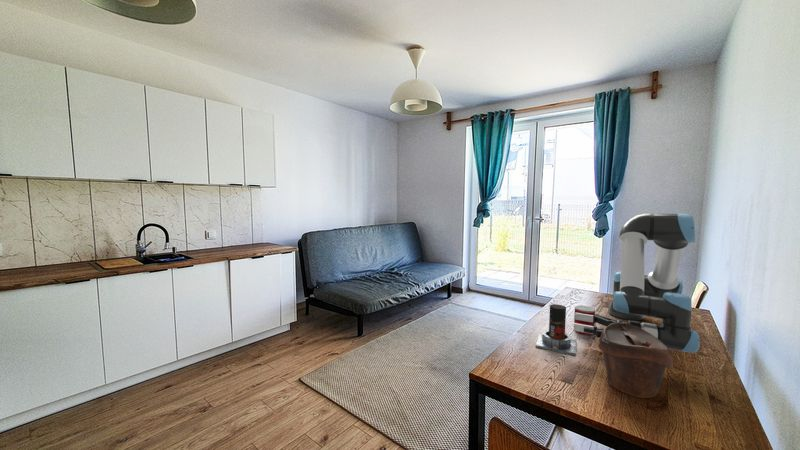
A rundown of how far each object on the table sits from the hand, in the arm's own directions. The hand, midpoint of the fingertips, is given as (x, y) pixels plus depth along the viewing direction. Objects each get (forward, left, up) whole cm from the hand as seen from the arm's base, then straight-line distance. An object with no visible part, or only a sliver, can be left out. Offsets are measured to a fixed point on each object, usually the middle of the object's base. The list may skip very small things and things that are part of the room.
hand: (574, 321), depth 124 cm
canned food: (-21, +4, -11) cm, 24 cm away
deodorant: (0, -6, -10) cm, 12 cm away
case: (+21, +17, -11) cm, 29 cm away
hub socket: (0, -6, -11) cm, 13 cm away
